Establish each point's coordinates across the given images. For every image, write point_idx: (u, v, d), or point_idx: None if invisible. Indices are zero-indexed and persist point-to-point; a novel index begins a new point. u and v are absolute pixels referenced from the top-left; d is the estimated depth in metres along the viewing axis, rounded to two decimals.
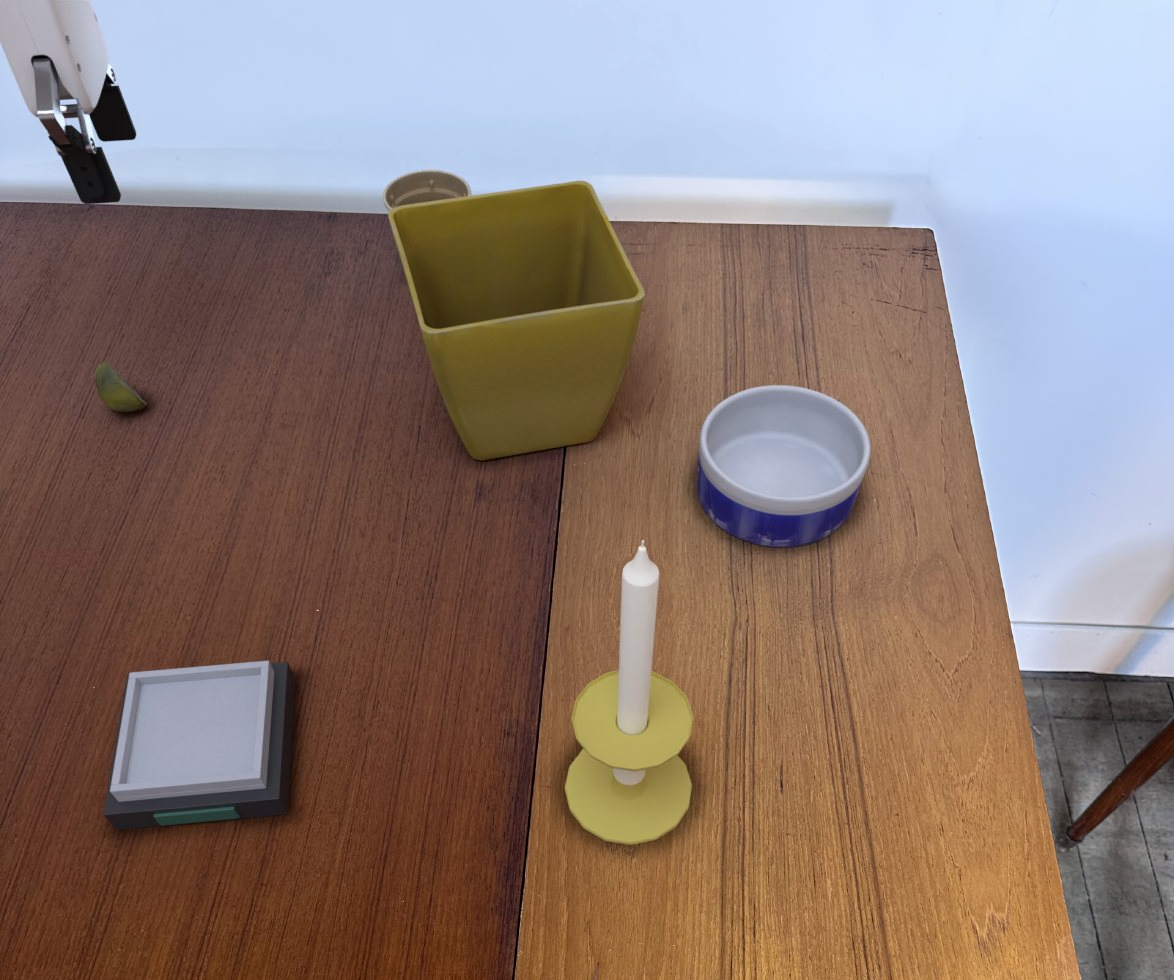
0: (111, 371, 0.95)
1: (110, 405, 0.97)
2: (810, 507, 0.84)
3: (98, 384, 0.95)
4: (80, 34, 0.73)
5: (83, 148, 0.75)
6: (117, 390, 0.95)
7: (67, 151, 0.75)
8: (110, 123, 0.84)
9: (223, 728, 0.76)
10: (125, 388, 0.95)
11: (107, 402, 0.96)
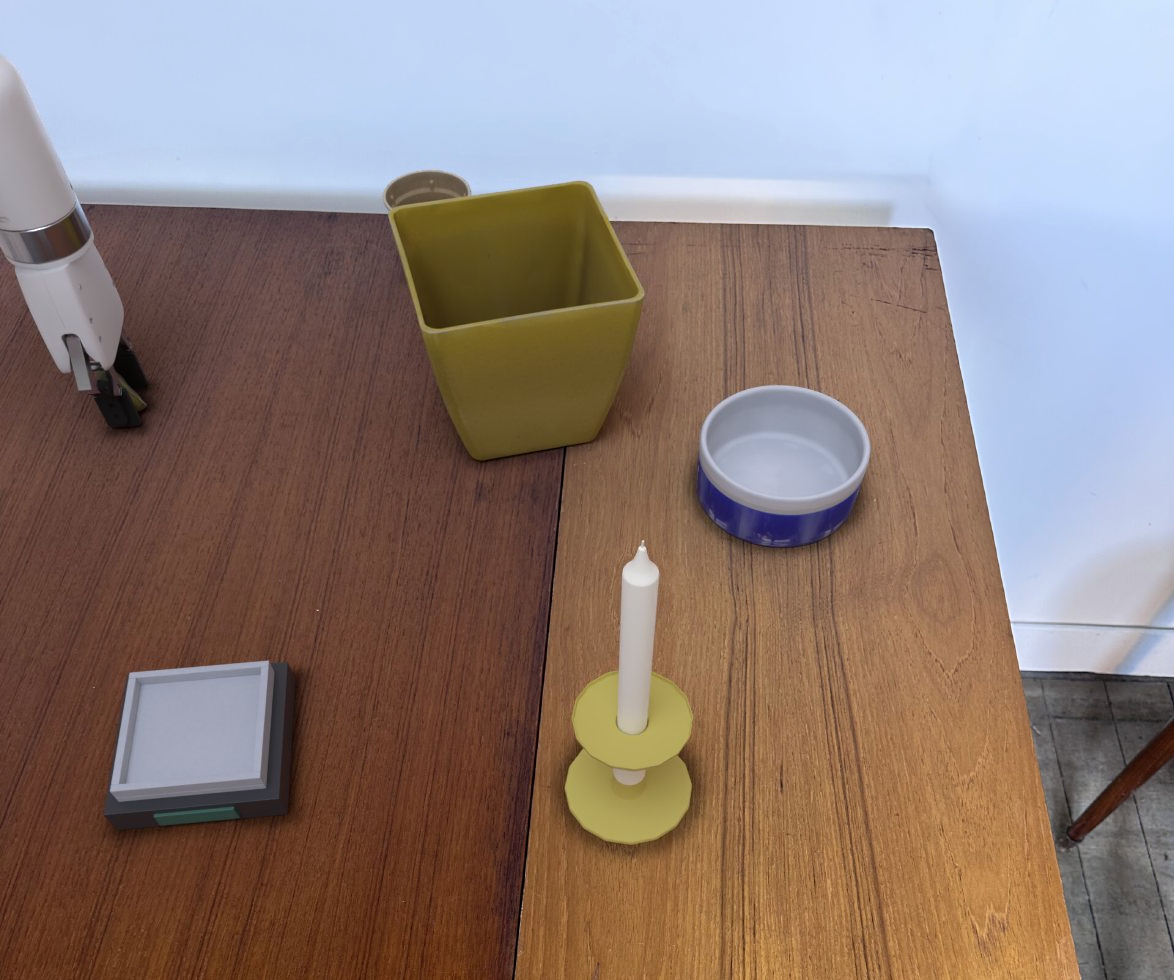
0: None
1: None
2: (810, 506, 0.84)
3: None
4: (101, 311, 0.88)
5: (111, 393, 0.93)
6: None
7: (98, 396, 0.93)
8: (126, 378, 0.99)
9: (223, 728, 0.76)
10: None
11: None
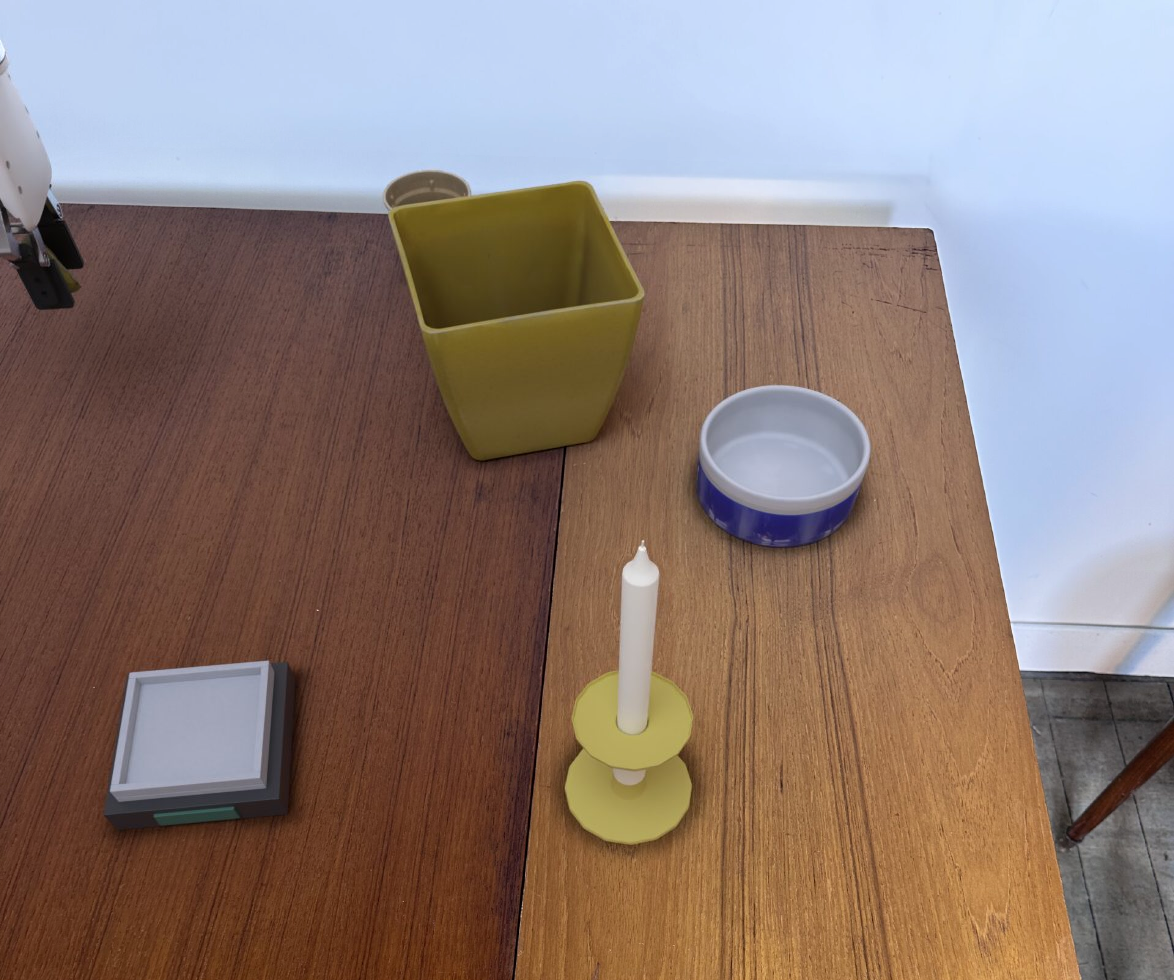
0: None
1: None
2: (810, 506, 0.84)
3: None
4: (21, 157, 0.75)
5: (37, 262, 0.79)
6: None
7: (21, 265, 0.79)
8: (57, 254, 0.85)
9: (223, 728, 0.76)
10: None
11: None
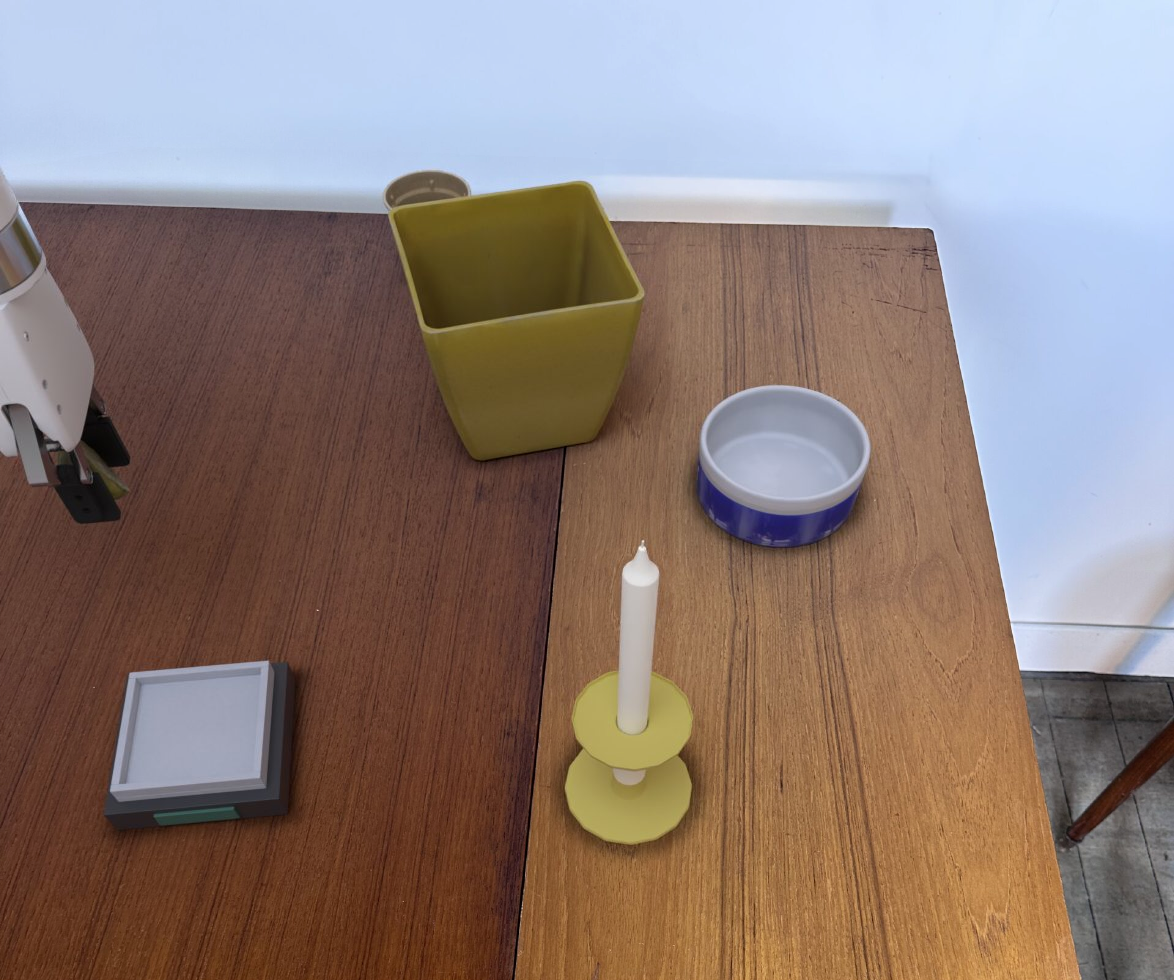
0: None
1: None
2: (810, 507, 0.84)
3: None
4: (60, 368, 0.61)
5: (78, 481, 0.65)
6: None
7: (59, 485, 0.65)
8: (100, 453, 0.71)
9: (223, 728, 0.76)
10: (99, 472, 0.68)
11: None
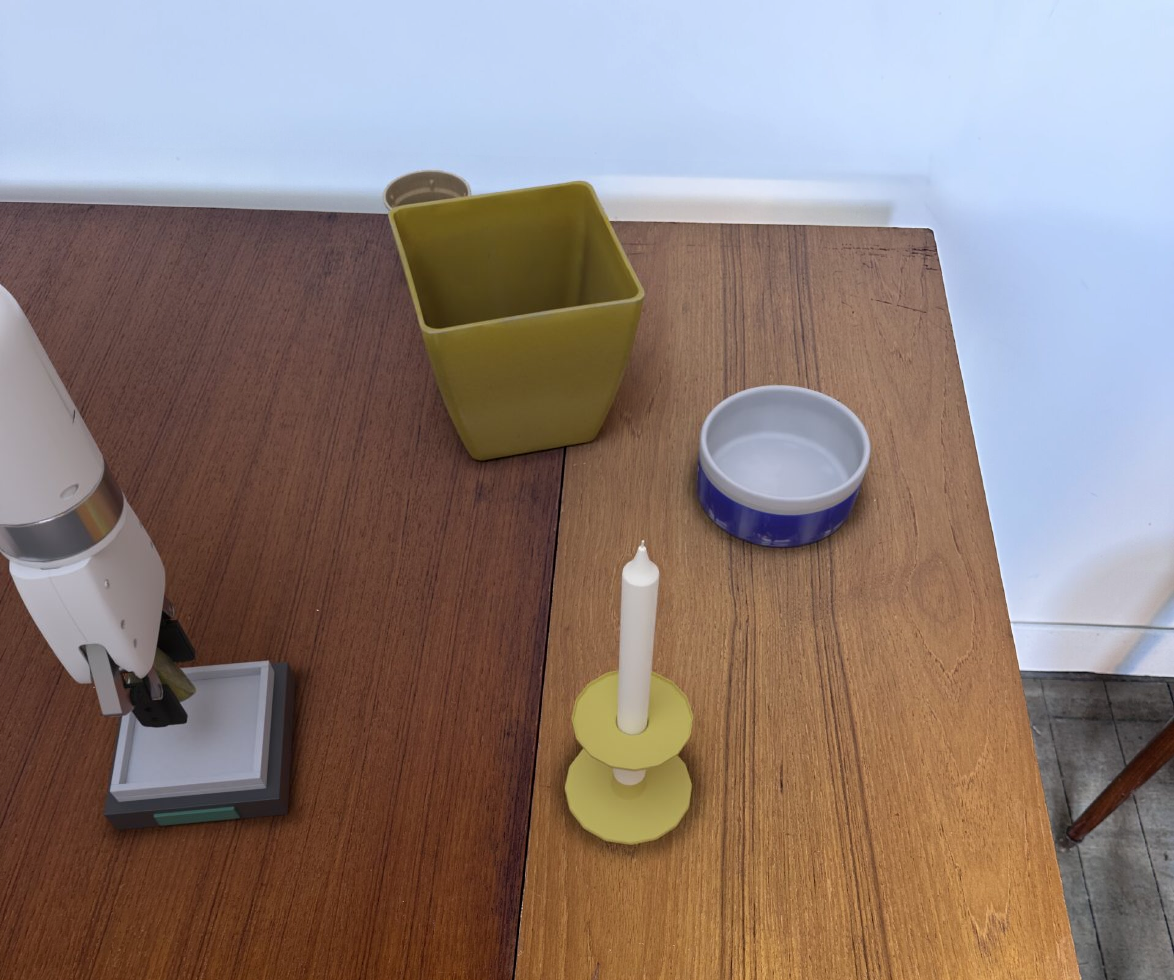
0: None
1: None
2: (810, 506, 0.84)
3: (130, 676, 0.67)
4: (137, 600, 0.60)
5: (149, 699, 0.65)
6: None
7: None
8: (166, 651, 0.71)
9: (223, 728, 0.76)
10: (168, 682, 0.67)
11: None
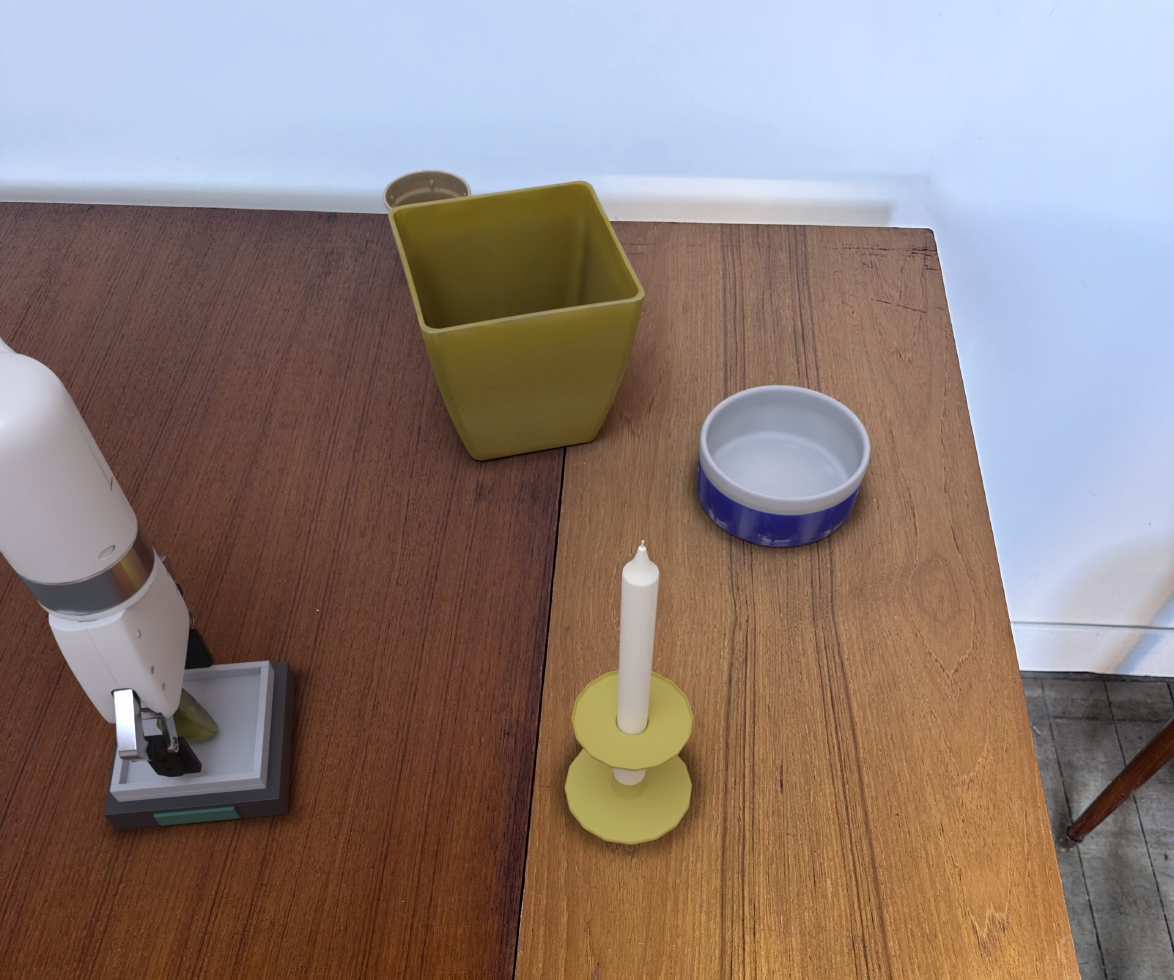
0: None
1: None
2: (810, 506, 0.84)
3: None
4: (165, 646, 0.64)
5: (165, 752, 0.67)
6: (183, 725, 0.71)
7: None
8: (186, 658, 0.75)
9: (223, 728, 0.76)
10: (193, 722, 0.72)
11: None
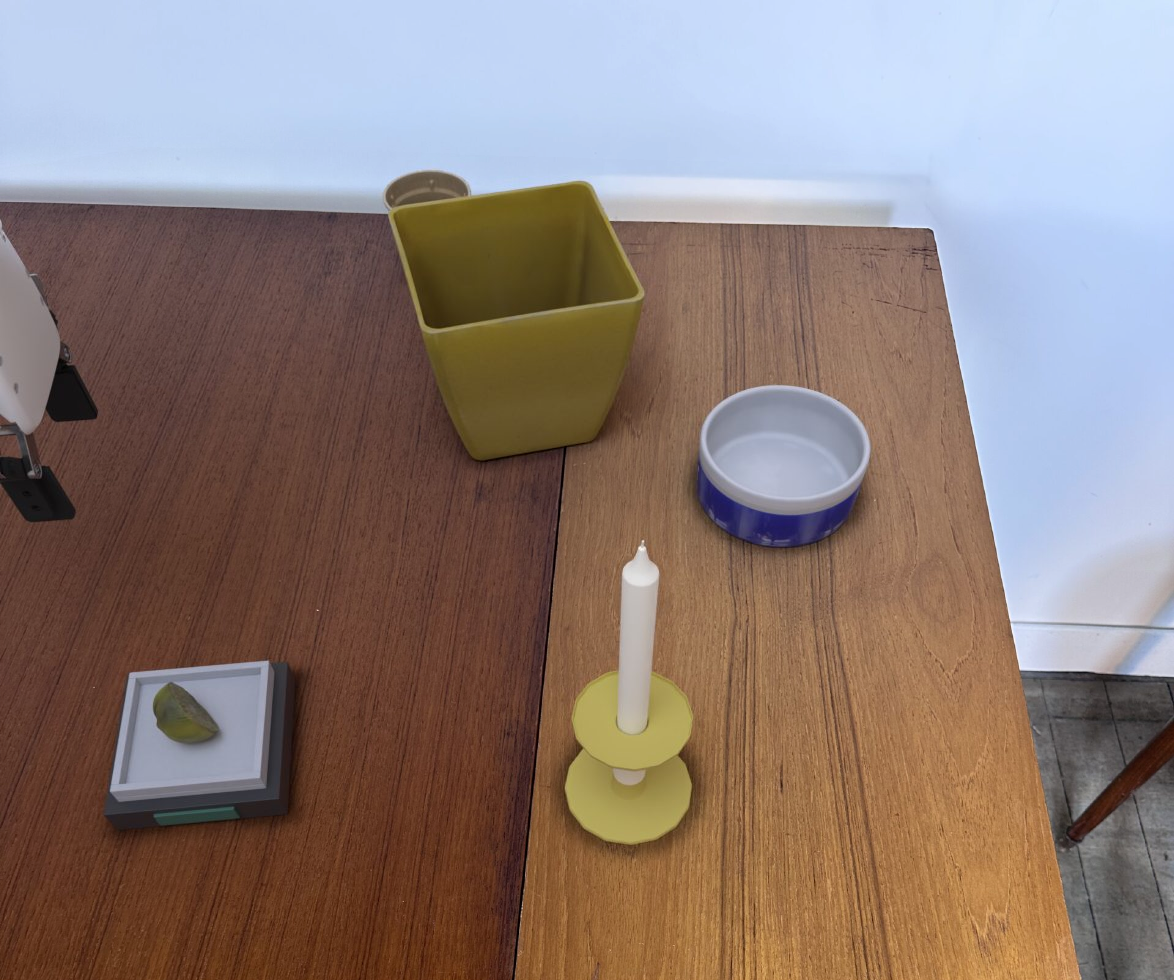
0: (175, 702, 0.71)
1: (172, 739, 0.73)
2: (810, 506, 0.84)
3: (158, 717, 0.71)
4: (18, 343, 0.56)
5: (24, 476, 0.59)
6: (183, 725, 0.71)
7: (4, 480, 0.59)
8: (65, 404, 0.67)
9: (223, 728, 0.76)
10: (193, 722, 0.72)
11: (169, 736, 0.72)
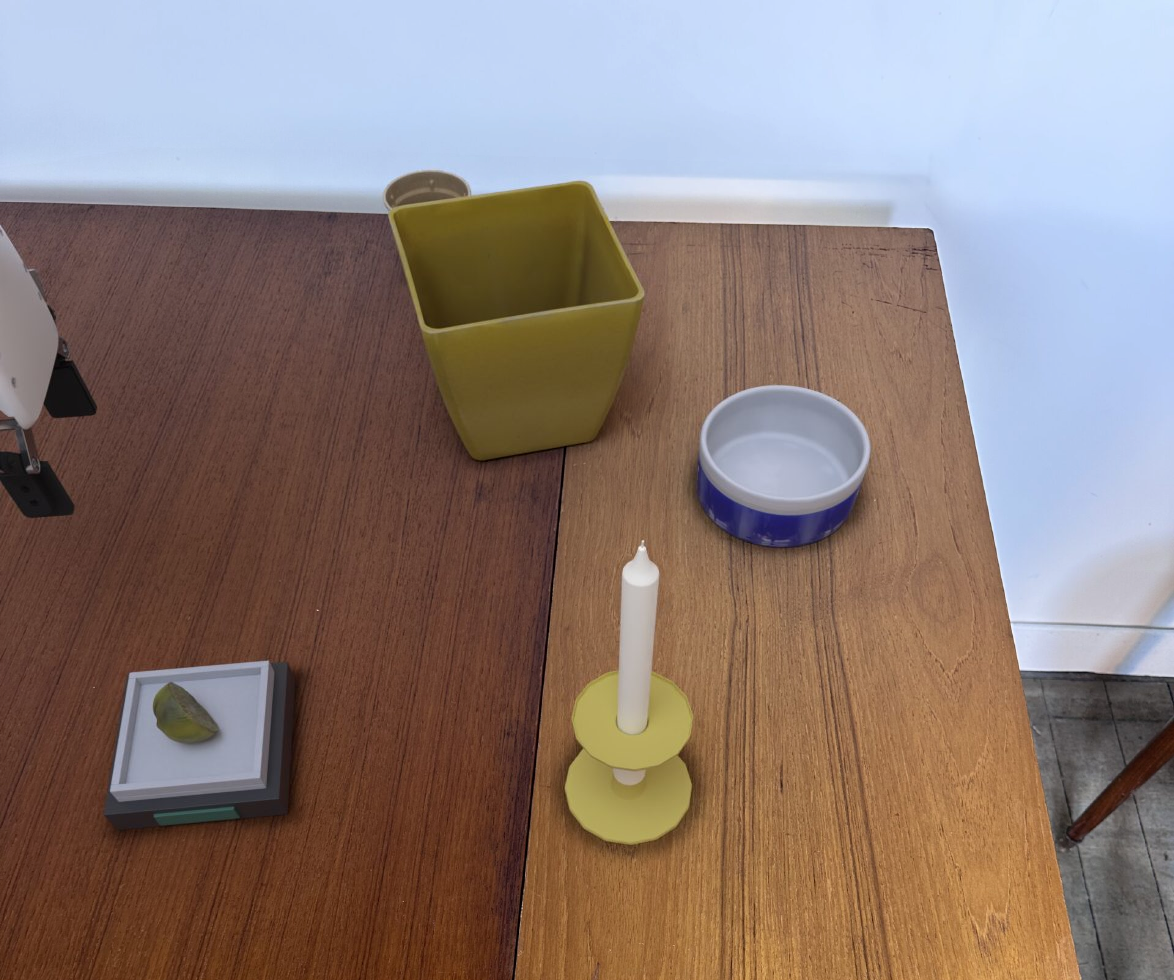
0: (175, 702, 0.71)
1: (172, 739, 0.73)
2: (810, 507, 0.84)
3: (158, 717, 0.71)
4: (16, 338, 0.56)
5: (22, 471, 0.59)
6: (184, 725, 0.71)
7: (2, 475, 0.59)
8: (64, 400, 0.67)
9: (223, 728, 0.76)
10: (193, 722, 0.72)
11: (169, 736, 0.72)
